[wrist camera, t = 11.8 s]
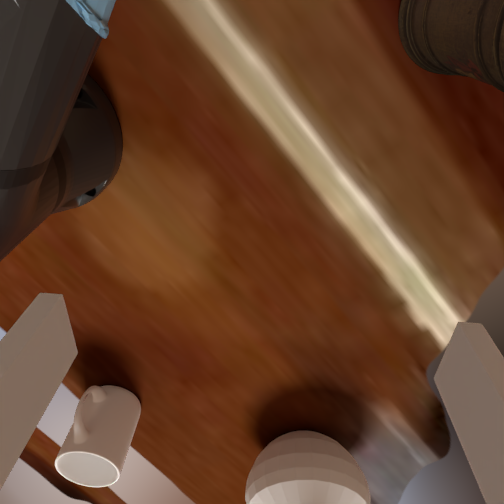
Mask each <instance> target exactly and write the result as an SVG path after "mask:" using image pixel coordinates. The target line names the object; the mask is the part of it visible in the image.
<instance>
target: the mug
mask: <svg viewBox="0 0 504 504" xmlns="http://www.w3.org/2000/svg"><path fill="white" fill-rule="evenodd" d="M88 393H89V394H88ZM87 394H88V395H87ZM86 395H87V397H86ZM85 397H86V398H85ZM84 398H85V400H84ZM83 401H84V402H83ZM140 413H141V405H140V401H139V400H138V398H137V397H136V396H135V395H134V394H133V393H132V392H130V391H128V390H127V389H124V388H122V387H118V386H112V385H105V386H100V387H99V386H96V385H95V386H91V387H89V388H88V389H87V390H86V391H85V393H84V394H83V396H82V398H81V399H80V401H79V404H78V406H77V409H76V412H75V416H74V423H73V425H72V427H71V429H70V432H69V433H68V435H67V437H66V439H65V441H64V443H63V445H62V447H61V449H60V451H59V453H58V456H57V458H56V460H55V467H56V469H57V471H58V472H59V473H60V474H61V475H62V476H63V477H65V478H66V479H68V480H70V481H72V482H74V483H77V484H80V485H83V486H89V487H105V486H109V485H112V484H113V483H115V482H116V481H117V480H118V479H119V477H120V474H121V471H122V468H123V465H124V462H125V459H126V456H127V452H128V450H129V447H130V444H131V441H132V438H133V435H134V432H135V429H136V426H137V423H138V420H139V417H140Z"/></svg>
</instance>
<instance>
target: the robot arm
mask: <svg viewBox="0 0 504 504" xmlns="http://www.w3.org/2000/svg"><path fill="white" fill-rule="evenodd" d="M115 1H116V0H0V261H1V260H2V259H3V258H4V257H6V256H7V255H8V254H9V253H10V252H11V251H12V250H13V249H14V248H15V247H16V246H17V245H18V244H19V243H20V242H22V241H23V240H24V239H25V238H26V237H27V236H28V235H29V234H30V233H31V232H32V231H33V230H34V229H35V228H36V227H38V226H39V225H40V224H41V223H42V222H43V221H44V220H45V219H46V218H47V217H48V216H49V215H50V214H53V213H57V212H61V211H65V210H68V209H72V208H76V207H79V206H82V205H84V204H86V203H88V202H90V201H91V200H93V199H94V198H96V197H97V196H98V195H99V194H100V193H101V192H102V191H103V190H104V189H105V188H106V187H107V186H108V185H109V184H110V183H111V181H112V180H113V178H114V177H115V175H116V173H117V171H118V169H119V166H120V162H121V158H122V134H121V129H120V125H119V122H118V119H117V116H116V114H115V111H114V109H113V107H112V105H111V103H110V101H109V100H108V98H107V97H106V95H105V94H104V92H103V91H102V89H101V88H100V87H99V86H98V84H97V83H96V82H95V81H94V80H93V79H92V78H91V77H90V76H89V75H88V74H87V73H88V71H89V68H90V66H91V64H92V61H93V59H94V57H95V54H96V52H97V49H98V47H99V45H100V42H101V40H102V38H107V36H108V34H109V28H108V25H107V24H108V21H109V18H110V15H111V12H112V10H113V7H114V4H115ZM77 354H78V351H77V347H76V344H75V340H74V336H73V332H72V328H71V325H70V321H69V317H68V313H67V310H66V306H65V302H64V298H63V295H62V294H49V293H39V295H38V296H37V297H36V298H35V299H34V301H33V302H32V303H31V304H30V306H29V307H28V308H27V309H26V310H25V312H24V313H23V314H22V315H21V317H20V318H19V319H18V320H17V321H16V323H15V324H14V325H13V326H12V328H11V329H10V330H9V331H8V332H7V334H6V335H5V336H4V337H3V339H2V340H1V341H0V490H1V488H2V486H3V484H4V482H5V481H6V479H7V477H8V475H9V473H10V472H11V470H12V468H13V467H14V465H15V463H16V461H17V460H18V458H19V456H20V454H21V453H22V451H23V449H24V447H25V445H26V444H27V442H28V440H29V438H30V437H31V435H32V433H33V431H34V430H35V428H36V426H37V424H38V422H39V421H40V419H41V417H42V416H43V414H44V412H45V410H46V408H47V406H48V405H49V403H50V401H51V400H52V398H53V396H54V394H55V392H56V391H57V389H58V387H59V385H60V384H61V382H62V380H63V378H64V377H65V375H66V373H67V371H68V370H69V368H70V366H71V364H72V363H73V361H74V359H75V357H76V356H77ZM434 381H435V383H436V385H437V388H438V390H439V393H440V395H441V397H442V400H443V402H444V405H445V407H446V409H447V412H448V414H449V416H450V419H451V421H452V424H453V426H454V428H455V431H456V433H457V435H458V438H459V440H460V443H461V445H462V447H463V450H464V452H465V454H466V457H467V459H468V462H469V464H470V466H471V469H472V471H473V474H474V476H475V478H476V480H477V483H478V485H479V488H480V490H481V493H482V495H483V497H484V499H485V502H486V504H504V358H503V356H502V354H501V353H500V351H499V350H498V348H497V347H496V345H495V344H494V342H493V340H492V339H491V337H490V336H489V334H488V333H487V331H486V330H485V328H484V327H483V325H482V324H480V323H466V322H458V323H457V326H456V328H455V330H454V333H453V335H452V337H451V340H450V342H449V344H448V346H447V349H446V351H445V353H444V356H443V358H442V360H441V363H440V365H439V367H438V370H437V372H436V374H435V377H434Z"/></svg>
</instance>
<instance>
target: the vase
mask: <svg viewBox="0 0 504 504" xmlns="http://www.w3.org/2000/svg"><path fill="white" fill-rule="evenodd" d="M245 499H246V504H370V493H369V488H368V483H367V481H366V478H365V476H364V474H363V472H362V471H361V469H360V467H359V466H358V464H357V463H356V461H355V459H354V458H353V456H352V455H351V454H350V453H349V452H348V451H347V450H346V449H345V448H344V447H343V446H341V445H340V444H339V443H338V442H337V441H335V440H334V439H332V438H330V437H328V436H326V435H324V434H321V433H318V432H314V431H307V430H304V431H293V432H289V433H287V434H284V435H282V436H280V437H278V438H276V439H275V440H273V441H272V442H270V443H269V444H268V445H267V446H266V447H265V448H264V450H263V451H262V452H261V453H260V454H259V456H258V457H257V458H256V460H255V463H254V465H253V467H252V469H251V471H250V473H249V475H248V479H247V483H246V493H245Z"/></svg>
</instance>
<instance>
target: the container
mask: <svg viewBox="0 0 504 504" xmlns="http://www.w3.org/2000/svg"><path fill="white" fill-rule="evenodd" d="M399 34H400V39H401V42H402V45H403V47H404V49H405V51H406V53H407V54H408V56H409V57H410V58H411V59H412V60H413V61H414V62H415V63H416V64H417V65H418V66H420V67H421V68H423V69H425V70H427V71H430V72H433V73H438V74H446V75H461V76H469V77H472V78H475V79H477V80H480V81H482V82H485V83H487V84H490V85H493V86H494V87H496V88H497V89H499V90H500V91H502V92H504V0H402V2H401V5H400V11H399Z"/></svg>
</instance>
